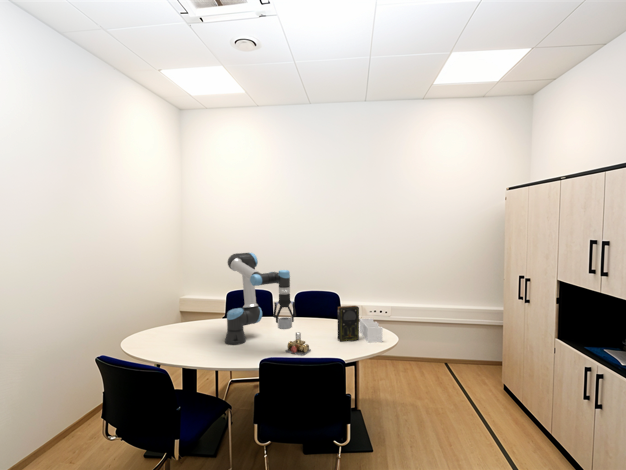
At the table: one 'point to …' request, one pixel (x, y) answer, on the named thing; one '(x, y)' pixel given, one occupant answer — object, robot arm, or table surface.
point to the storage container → (370, 330)
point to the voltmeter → (348, 323)
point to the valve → (298, 346)
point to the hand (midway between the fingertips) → (284, 327)
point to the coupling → (284, 323)
